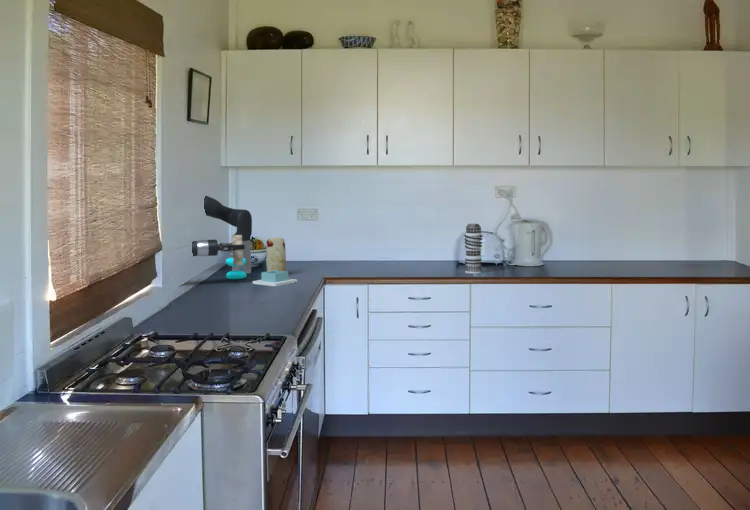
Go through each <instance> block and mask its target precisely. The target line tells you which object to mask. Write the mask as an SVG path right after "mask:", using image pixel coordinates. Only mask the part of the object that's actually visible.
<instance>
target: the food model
mask: <svg viewBox="0 0 750 510" xmlns="http://www.w3.org/2000/svg"><path fill="white" fill-rule="evenodd" d="M265 246H266V248H265V257H266V258H265V259H266V260H265V263H266V272H268V271H273V270H276V271H286V266H287V265H286V263H287V260H286V258H287V255H286V253H287V252H286V241H285V238H283V237H279V236H277V237H270V238H267V240H266V245H265Z"/></svg>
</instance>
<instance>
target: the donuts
mask: <svg viewBox="0 0 750 510" xmlns="http://www.w3.org/2000/svg"><path fill="white" fill-rule="evenodd" d="M245 263H246V259H245V258H243V265H244V264H245ZM225 264H226V265H227V266H230V267H232V266H242V265H233V258H232V257H228V258H226V260H225ZM225 276H226V279H229V280H242V279H245V278H247V274H246V273H245V272H244V271H240V270H236V271H232V270H231V271H228V272H227V273H226V274H225Z"/></svg>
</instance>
